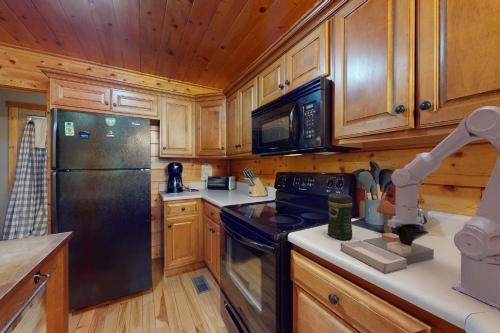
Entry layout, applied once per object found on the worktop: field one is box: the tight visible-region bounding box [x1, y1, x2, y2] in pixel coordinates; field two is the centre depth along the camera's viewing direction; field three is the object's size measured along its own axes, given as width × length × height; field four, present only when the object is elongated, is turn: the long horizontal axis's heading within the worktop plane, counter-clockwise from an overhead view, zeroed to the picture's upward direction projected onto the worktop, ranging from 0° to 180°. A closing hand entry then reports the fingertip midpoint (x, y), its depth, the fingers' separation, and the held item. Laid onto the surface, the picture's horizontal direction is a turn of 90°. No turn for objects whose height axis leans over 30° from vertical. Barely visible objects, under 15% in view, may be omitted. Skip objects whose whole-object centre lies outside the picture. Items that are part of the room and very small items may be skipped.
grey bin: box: [340, 239, 408, 275], centre depth 66 cm, size 16×9×3 cm, turn 20°
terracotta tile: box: [381, 232, 401, 243], centre depth 74 cm, size 4×4×2 cm
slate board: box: [362, 236, 435, 266], centre depth 70 cm, size 14×15×3 cm
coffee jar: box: [327, 192, 353, 241], centre depth 86 cm, size 10×8×19 cm
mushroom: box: [376, 200, 396, 234], centre depth 90 cm, size 8×8×15 cm
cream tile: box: [387, 241, 411, 255], centre depth 65 cm, size 4×4×2 cm
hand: (405, 246), depth 66 cm, fingers closed
